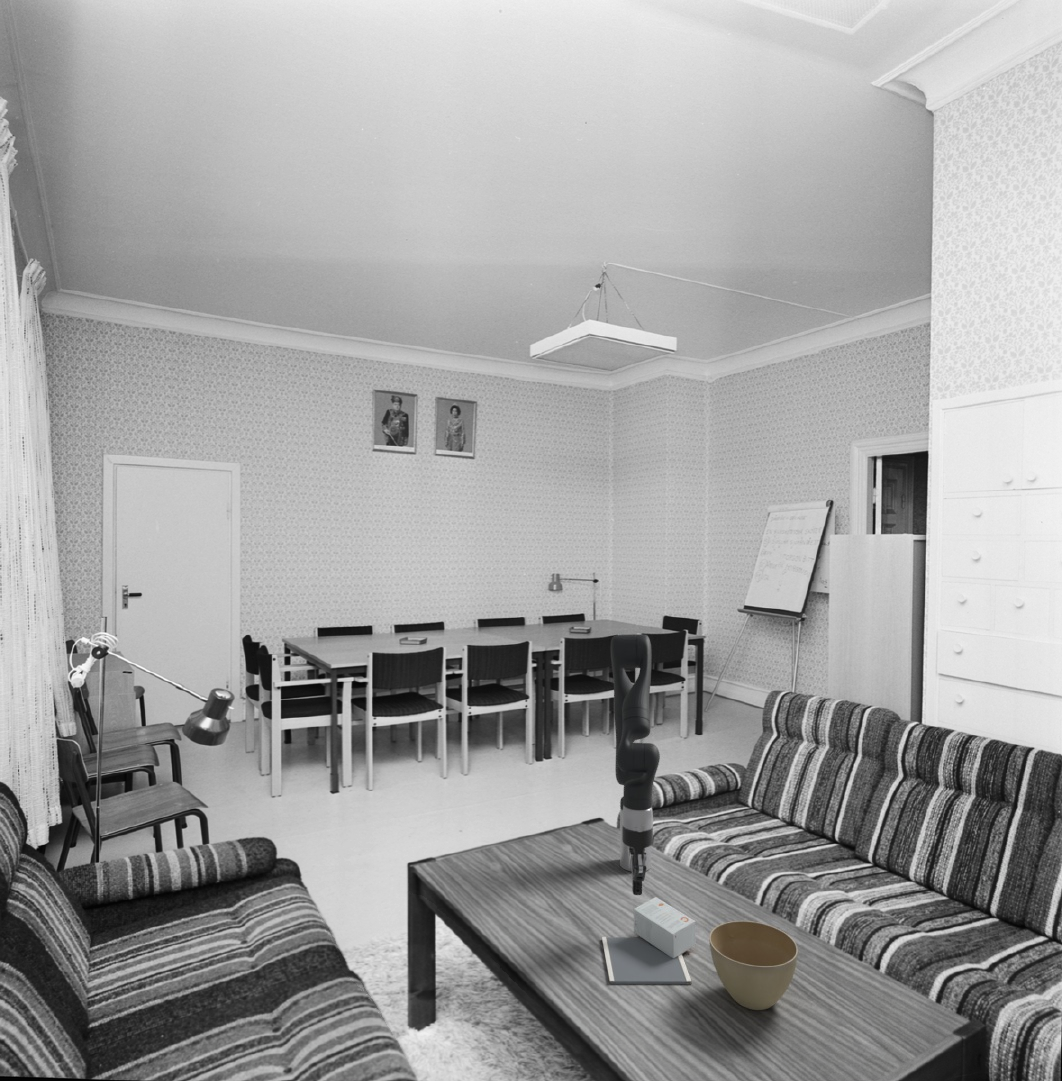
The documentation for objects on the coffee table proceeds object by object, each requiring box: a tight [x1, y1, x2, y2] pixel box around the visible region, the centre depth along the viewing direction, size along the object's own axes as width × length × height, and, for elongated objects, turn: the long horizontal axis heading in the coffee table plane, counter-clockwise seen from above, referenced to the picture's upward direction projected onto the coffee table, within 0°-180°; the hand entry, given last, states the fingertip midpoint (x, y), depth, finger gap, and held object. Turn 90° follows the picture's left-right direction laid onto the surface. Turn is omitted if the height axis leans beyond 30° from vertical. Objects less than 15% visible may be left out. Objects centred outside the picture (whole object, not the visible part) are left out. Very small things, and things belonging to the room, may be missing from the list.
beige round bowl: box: [708, 920, 799, 1011], centre depth 160 cm, size 18×18×12 cm
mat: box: [601, 936, 692, 985], centre depth 174 cm, size 18×18×1 cm
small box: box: [633, 896, 697, 959], centre depth 181 cm, size 8×6×13 cm
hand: (637, 893), depth 186 cm, fingers closed
